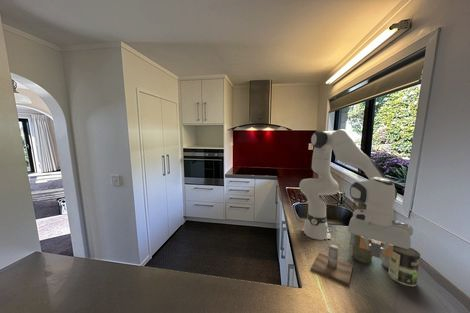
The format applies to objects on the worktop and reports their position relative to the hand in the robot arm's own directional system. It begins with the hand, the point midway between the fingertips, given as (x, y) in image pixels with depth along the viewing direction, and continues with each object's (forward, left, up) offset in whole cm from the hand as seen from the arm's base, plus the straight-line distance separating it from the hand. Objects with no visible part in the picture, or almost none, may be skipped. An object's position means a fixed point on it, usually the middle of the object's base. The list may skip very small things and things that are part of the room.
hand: (375, 249), depth 77 cm
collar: (-5, 0, -2) cm, 6 cm away
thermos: (-26, -5, -19) cm, 33 cm away
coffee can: (-20, +11, -19) cm, 30 cm away
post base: (-5, -16, -19) cm, 25 cm away
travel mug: (-27, +7, -19) cm, 34 cm away
